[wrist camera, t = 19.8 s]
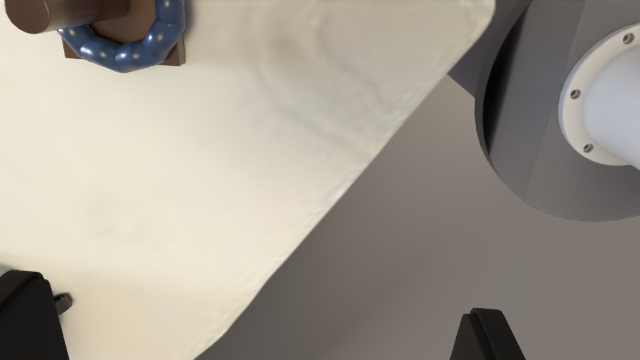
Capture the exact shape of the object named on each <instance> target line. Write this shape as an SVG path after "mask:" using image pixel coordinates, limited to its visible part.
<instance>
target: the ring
mask: <svg viewBox="0 0 640 360" xmlns="http://www.w3.org/2000/svg"><path fill="white" fill-rule="evenodd" d="M155 10H156V19H155V21H154V22H153V24H152V25H151V27H150V29H149V30H148V32H147V34H146V35H145V37H144V39H141V40H137V41H134V42H130V43H127V44H123V45H120V44H117V43H115V42H112V41H109V40H107V39H104V38H102V37H99V36H96V35H95V33H94V32H93V31H92V30H91V28H90V27H89V26H88V25H87V24H84V25H79V26H74V27H69V28H64V29H59V30H56V31H57V32H58V33H59V34H60V35H61V37H62V38H63V39H64V40H65V41H66V43H67V44H68V45H69V46H70V47H71V48H72V50H73V51H74V52H75V53H76V54H77V55H78V56H79V57H80V58H82V59H85V60H87V61H90V62H92V63H95V64H98V65H100V66H103V67H106V68H108V69H111V70H114V71H116V72H119V73H128V72H132V71H135V70H139V69H143V68H146V67H150V66H154V65H157V64H160V63H162V62H163V61H164V60H165V59H166V58H167V56H168V55H169V53H170V52H171V50H172V48H173V47H174V45H175V44H176V42H177V41H178V39H179V38H180V36H181V35H182V33H183V31H184V30H185V25H186V23H185V9H184V0H155Z"/></svg>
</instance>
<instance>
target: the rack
mask: <svg viewBox="0 0 640 360" xmlns="http://www.w3.org/2000/svg"><path fill="white" fill-rule="evenodd" d="M4 7H5V11H6V14H7V16H8V18H9V19H10V21H11V22H12V23H13V24H14V25H15V26H16V27H17V28H19V29H20V30H22V31H24V32H26V33H30V34H39V33H44V32H49V31H54V30H59V29H64V28H69V27H74V26H79V25H84V24H87V25H88V26H89V27H90V28H91V30H92V31H93V32H94V33H95V35H96V36H99V37H102V38H104V39H107V40H109V41H112V42H115V43H117V44H120V45H123V44H127V43H130V42H134V41H137V40H141V39H144V37H145V35H146V34H147V32H148V30H149V29H150V27H151V25H152V24H153V22H154V21H155V19H156V10H155V0H4ZM62 42H63V48H64V53H65V57H66V58H73V59H82V58H80V57H79V56H78V55H77V54H76V53H75V52H74V51H73V50H72V48H71V47H70V46H69V45H68V44H67V43H66V41H65V40H64V39H63V38H62ZM184 63H185V54H184V40H183V33H182V35H181V36H180V38H179V39H178V41H177V42H176V44H175V45H174V47H173V48H172V50H171V52H170V53H169V55H168V56H167V58H166V59H165V60H164V61H163V62H162V63H160V64H157V65H168V66H180V65H182V64H184Z"/></svg>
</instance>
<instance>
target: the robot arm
mask: <svg viewBox="0 0 640 360" xmlns="http://www.w3.org/2000/svg"><path fill="white" fill-rule="evenodd" d="M624 36H625V37H624ZM623 38H624V39H623ZM572 91H573V92H572ZM571 92H572V94H571ZM558 120H559V124H560V128H561V132H562V133H563V135H564V137H565V139H566V141H567V142H568V143H569V144H570V145H571V147H572V148H573V149H574V150H575V151H577V152H578V153H579V154H581V155H582V156H584V157H586V158H588V159H590V160H591V161H593V162H597V163H600V164H604V165H614V166H622V165H632V166H634V167H635V168H637V169H638V170H640V22H637V23H634V24H631V25H627V26H624V27H622V28H620V29H618V30H616V31H614V32H612V33H610V34H608V35H607V36H605V37H604V38H602V39H601V40H599V41H598V42H597V43H595V44H594V45H593V46H592V47H591V48H590V49H589V50H588V51H587V52H585V53H584V54H583V55H582V57H581V58H580V59H579V60H578V62H577V63H576V64H575V66H574V67H573V68H572V70H571V72H570V74H569V75H568V77H567V79H566V81H565V83H564V86H563V89H562V91H561V94H560V99H559V105H558ZM0 360H69V356H68V353H67V349H66V345H65V341H64V337H63V333H62V329H61V325H60V321H59V317H58V314H57V310H56V306H55V302H54V298H53V294H52V290H51V286H50V283H49V281H48V280H46V279H44V278H43V275H42V274H41V273H39V272H32V271H19V270H10V271H8V272H6V273H5V274H3V275H2V276H1V277H0ZM450 360H526V359H525V357H524V355H523V353H522V351H521V349H520V347H519V345H518V343H517V341H516V339H515V337H514V335H513V333H512V331H511V329H510V327H509V325H508V323H507V320H506V318H505V316H504V315H503V313H502V311H500V310H496V309H484V308H473V309H472V310H471V312H470V314H464V315H463V316H462V319H461V322H460V326H459V329H458V333H457V336H456V340H455V343H454V347H453V351H452V354H451V357H450Z"/></svg>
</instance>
